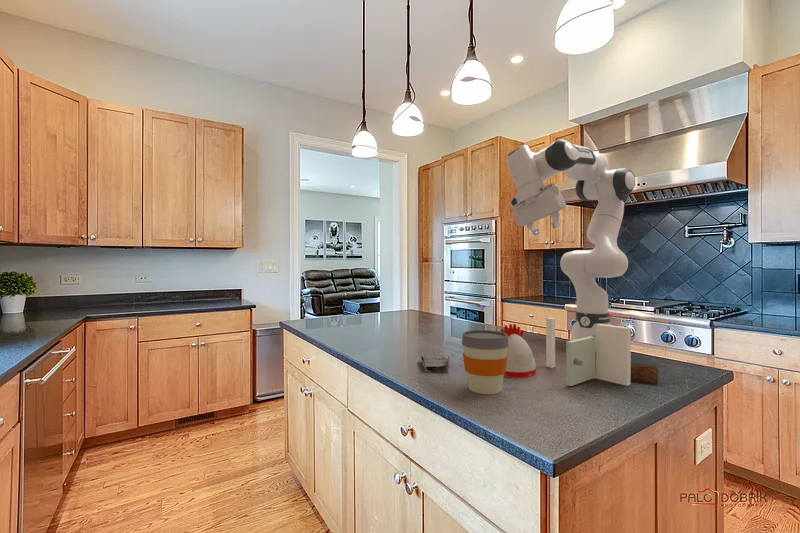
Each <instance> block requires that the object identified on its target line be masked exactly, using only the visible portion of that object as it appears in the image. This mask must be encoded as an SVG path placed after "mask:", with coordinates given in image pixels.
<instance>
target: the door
mask: <svg viewBox="0 0 800 533" xmlns="http://www.w3.org/2000/svg"><path fill="white" fill-rule="evenodd" d="M593 378H595V379H596V351H595V337H592V336H589V337H585V338H580V339H576V340H572V339H571V340H568V341H565V385H567V386H569V387H572V386H575V385H576V386H577V385H579V384H581V383H584V382H586V381H587V382H588V381H590V380H593Z"/></svg>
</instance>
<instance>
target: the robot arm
mask: <svg viewBox="0 0 800 533" xmlns="http://www.w3.org/2000/svg"><path fill="white" fill-rule="evenodd" d="M506 165H507V168H508V171H509V174H510V178H511V179H512V180H513V183H514V184H515V185H514V186H515V190H516V193H515V195H514V196H513V198H512V199H511V200H510V201H509V205H510V207H511V208H512V213H513V214H512V215H513V217H514V219H515V223H516V224H517V226H518V227H520V228H521V227H524V226H526V227H527V229H528V230H530V232H531V233H532V236H537V235H540V230H539V228H536V227H535V222H537V221H540V220H541V219H544V218H546V217H549V216H550V217H551V218H552V223H551V227H552V228H553V229H556V228H559V227H560V226H561V224H560V222H559V221H560V220H559V219H560V213H559V212H560V211H563V210H564V209H566V207H567V203H566V200H565V199H564V197H563V194H562V193H561V191H560V190H559V187H558V185H557V184H555V183H552V182H550V183H547V185H545V183H544V181H547V180H548V179H550V178H552V177H554V176H556V175H558V174H559V173H562V172H564V174H565V175H566V177H567V178H568V179H570V180H573V181H576V184H575V193H576V196H577V197H578V198H579V199H580V201H583V202H584V201H586V202H588V201H590V202H591V201H597V205H596V207H595V209H594V211H593V214H592V215H591V219H590V221H589V225H588V228H587V230H586V238H587V240H588V241H589V243H591V244H593V245H594V248H591V249H576V250H572V251H568V252H565V253H564V254H563V255H562V256H561V258H560V262H559V264H560V270H561V271H562V272H563V274H565V275H566V276H567V277H568V278H569V279H570V281H571V283H572V284H573V287H574V290H575V296H576V298H575V299H576V311H575V314H574V315H575V322H574V323H573V324H572V330H571V340H576V339H580V338H585V337H589V336H592V335H593V334H594V335H595V352H596V325H597V324H604V325H612V324H611V318H613V314H612V312H609V294H608V292H607V291H606V290H605V289H604V288H602V287H601V286H599V285H598V283H597V281H596V279H595V278H604V279H609V278H610V279H611V278H616V277H617V278H618V277H622V276H623V275H624V274H625V273H626V272H627V270H628V268H629V259H628V257H627V254H625V253H624V252H623V251H622V250H621V249H620V248H619V246H618V237H619V232H620V229H621V225H622V223H623V217H624V213H625V203H624V200H627V198H629V195H631V193H632V192H633V190H634V189H635V185H636V177H635V174H634V173H633V171H632V170H631V169H630V168H623V167H621V168H620V167H619V168H617V169H611V170H610V169H609V170H608V167H609V160H608V158H607V157H606V155H604V154H603V153H600V152H597V151H594V150H592V149H591V148H590V147H586V146H582V145H577V144H574V143H572V142H570V141H568V140H565V139H557V140H555V141H554V142H552V143H551V144H549V145H548V146H547V147H546V148H544V149H542V150H540V151H538V152H533V151H532V150H530V147H529V146H528V145H526V144H523V145H521V146H518V147H517V148H515V149H512V151H510V152H509V153H508V154H507V155H506Z"/></svg>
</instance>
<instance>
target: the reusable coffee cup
mask: <svg viewBox="0 0 800 533" xmlns="http://www.w3.org/2000/svg"><path fill="white" fill-rule="evenodd" d="M461 345H462V346H463V347H462V348H463V352H462V358H463V359H462V360H463V364H464V367H463V368H464V371H465V372H466V378H467V385H468V386H467V387H468V390H470V391H471V392H473V393H476V394H482V395H494V394H499V393H501V392H502V391H503V382H504V377H505V376H504V373H505V372H506V365H507V357H508V356H507V355H506V352H507V347H508V346H509V344H508V335H507V334H506V333H503V332H501V331H497V330H489V329H478V330H477V329H473V330H468V331H464V332H463V333H462V337H461Z"/></svg>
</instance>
